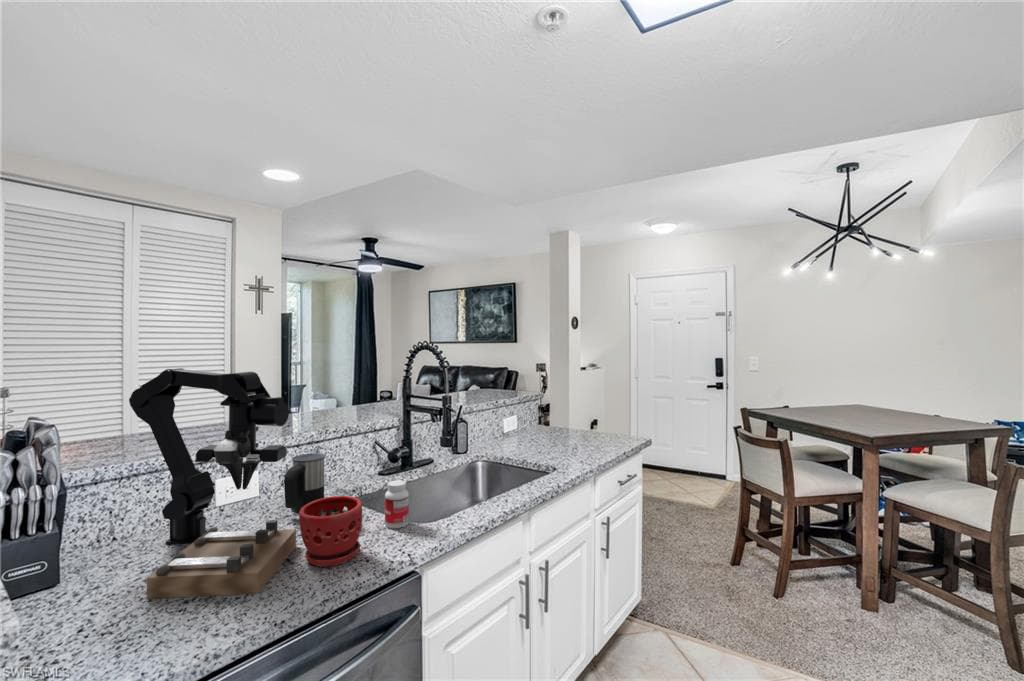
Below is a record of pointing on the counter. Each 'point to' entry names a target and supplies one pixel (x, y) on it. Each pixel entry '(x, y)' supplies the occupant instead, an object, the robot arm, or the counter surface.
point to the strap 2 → (234, 535)
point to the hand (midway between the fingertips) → (241, 489)
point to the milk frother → (304, 481)
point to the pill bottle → (396, 505)
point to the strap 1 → (202, 562)
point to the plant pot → (331, 530)
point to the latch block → (225, 579)
